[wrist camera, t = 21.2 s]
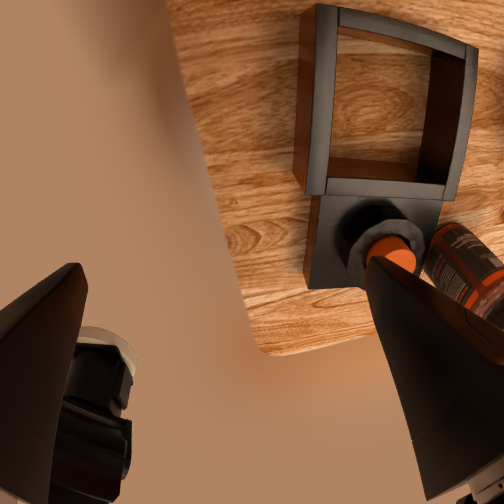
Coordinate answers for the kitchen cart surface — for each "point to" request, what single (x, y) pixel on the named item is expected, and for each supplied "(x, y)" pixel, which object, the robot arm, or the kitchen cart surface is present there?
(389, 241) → the stop button
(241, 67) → the kitchen cart surface
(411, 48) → the rectangular frame
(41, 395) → the robot arm
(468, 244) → the supplement bottle
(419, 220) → the control block
